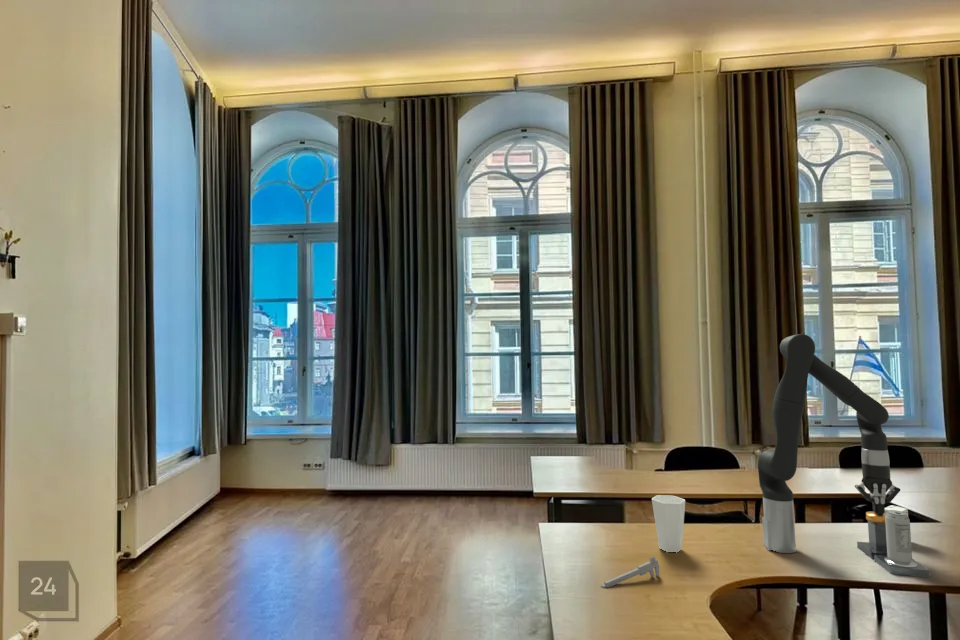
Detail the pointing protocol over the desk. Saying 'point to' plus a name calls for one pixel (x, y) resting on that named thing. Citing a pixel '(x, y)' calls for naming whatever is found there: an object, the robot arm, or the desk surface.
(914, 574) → the plate
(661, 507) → the cup
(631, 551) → the desk surface
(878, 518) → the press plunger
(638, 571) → the caliper
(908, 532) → the energy drink can
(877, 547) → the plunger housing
